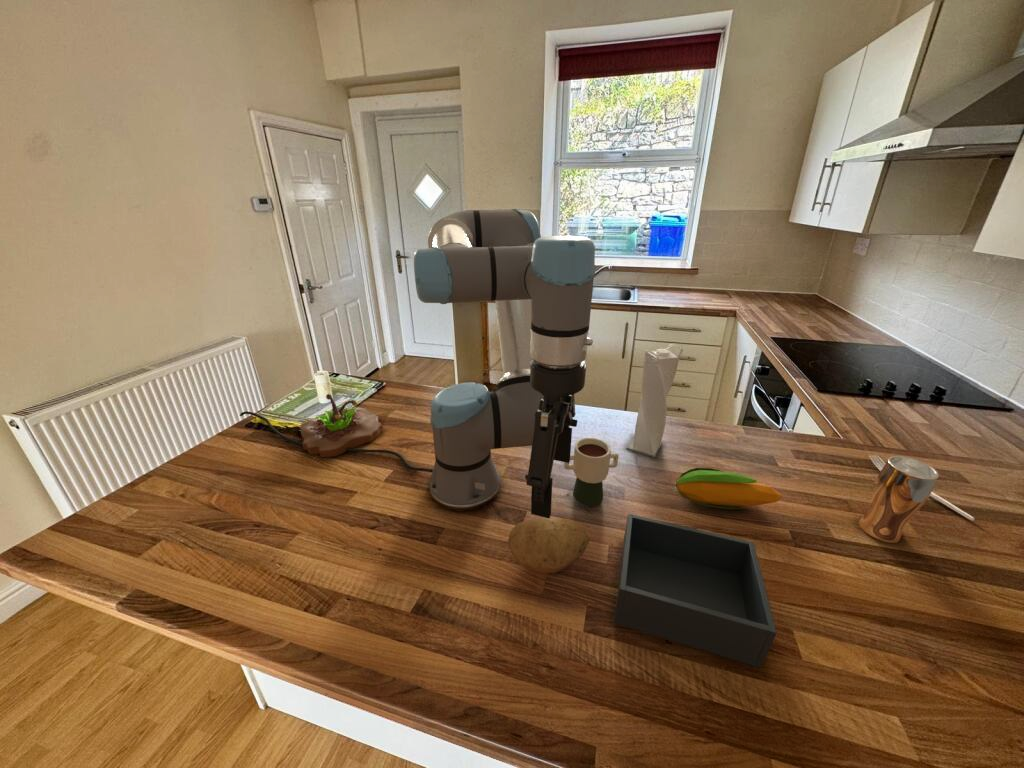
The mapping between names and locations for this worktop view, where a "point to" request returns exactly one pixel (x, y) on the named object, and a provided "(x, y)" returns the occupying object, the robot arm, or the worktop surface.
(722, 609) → the bin
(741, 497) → the corn
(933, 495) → the fork
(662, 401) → the skyscraper
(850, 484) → the worktop surface
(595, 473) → the character mug
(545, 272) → the robot arm
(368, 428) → the plant
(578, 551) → the potato
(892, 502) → the silver curved cylinder
